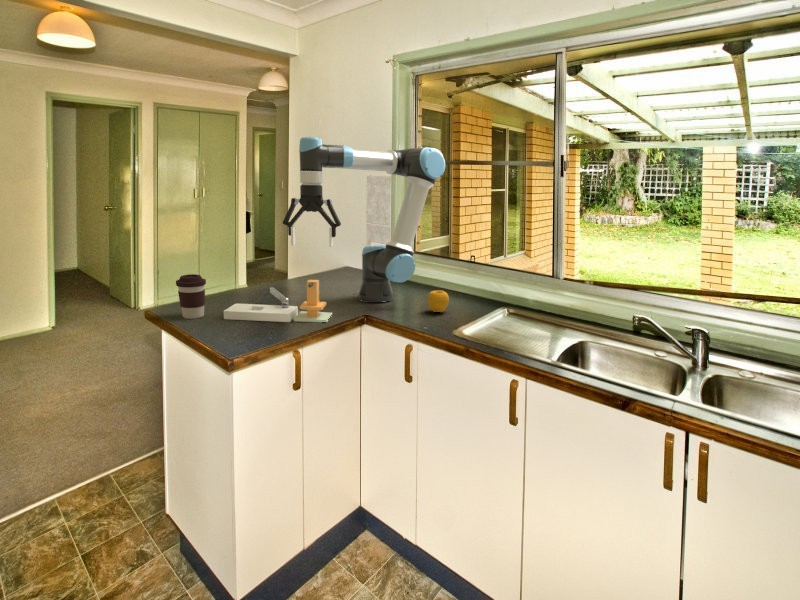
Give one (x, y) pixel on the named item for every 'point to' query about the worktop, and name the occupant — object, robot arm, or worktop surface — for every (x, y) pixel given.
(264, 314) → the socket block
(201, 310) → the coffee cup
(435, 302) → the apple
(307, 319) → the pad
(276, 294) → the grey metal rod
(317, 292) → the plug
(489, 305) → the worktop surface
